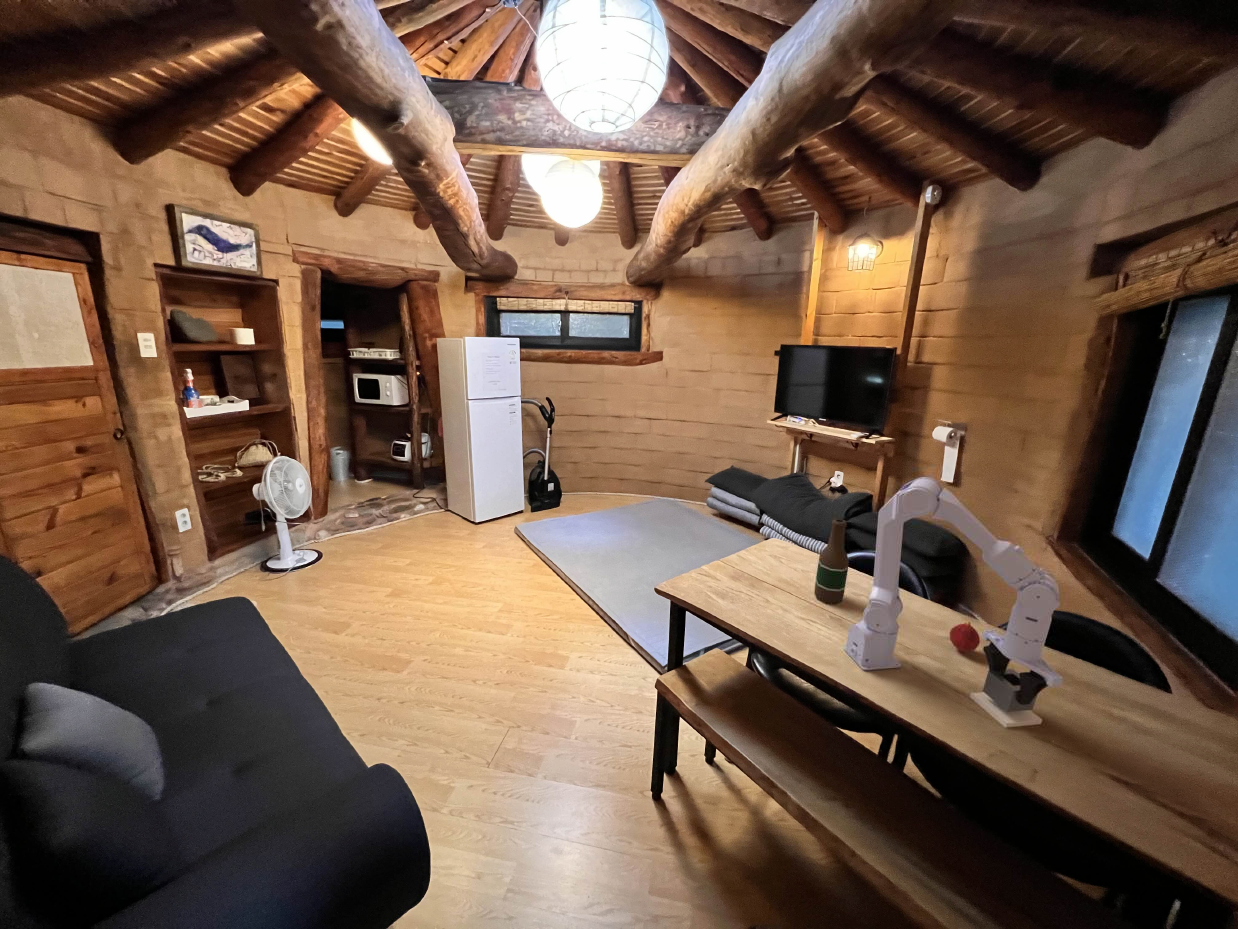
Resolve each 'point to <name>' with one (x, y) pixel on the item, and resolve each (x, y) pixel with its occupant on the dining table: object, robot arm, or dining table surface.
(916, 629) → the dining table surface
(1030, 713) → the post block
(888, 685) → the dining table surface
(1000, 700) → the collar
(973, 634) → the onion
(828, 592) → the beer bottle
